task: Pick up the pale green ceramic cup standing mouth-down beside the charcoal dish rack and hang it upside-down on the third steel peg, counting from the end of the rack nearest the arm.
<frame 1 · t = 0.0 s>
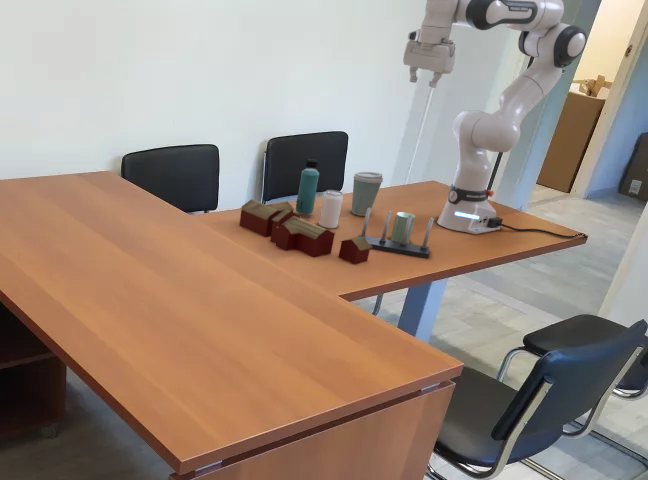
hand: (422, 84, 224), 48 cm above the table, tool pointing down, fingers open, 8 cm apart
beverage bottle: (303, 216, 258), on the table
toy houses: (301, 243, 232), on the table
can: (327, 226, 249), on the table
cup: (399, 240, 240), on the table
disposable coffee cup: (360, 213, 264), on the table
dish rack: (391, 248, 233), on the table
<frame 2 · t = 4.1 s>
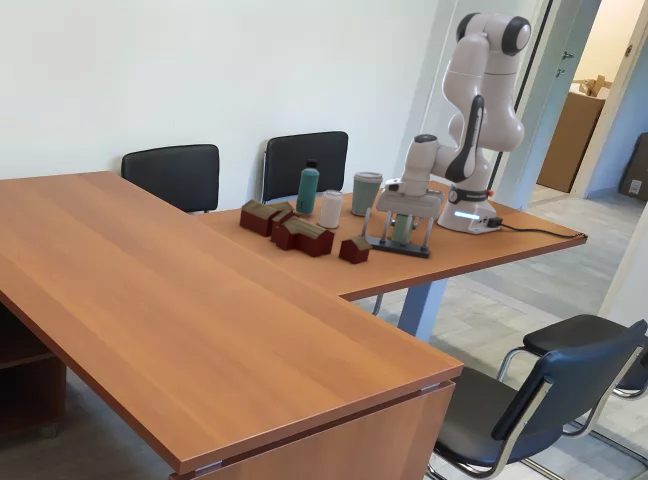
hand: (402, 227, 237), 5 cm above the table, tool pointing down, fingers closed on cup, 6 cm apart
cup: (399, 240, 240), on the table, touching gripper
everything else where it was.
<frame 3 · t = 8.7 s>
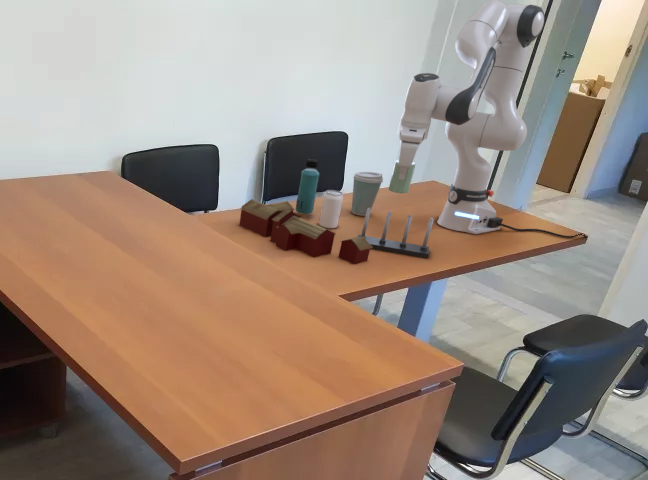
hand: (402, 176, 223), 23 cm above the table, tool pointing down, fingers closed on cup, 6 cm apart
cup: (398, 190, 226), point 18 cm above the table, touching gripper
everything else where it was.
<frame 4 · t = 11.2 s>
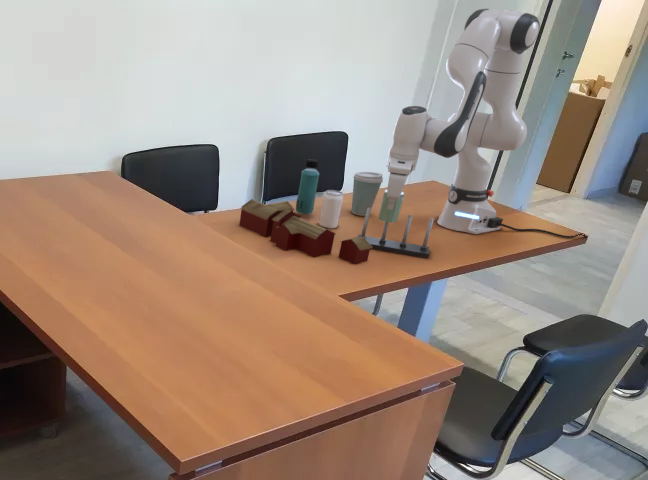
hand: (391, 205, 226), 14 cm above the table, tool pointing down, fingers closed on cup, 6 cm apart
cup: (387, 219, 229), point 9 cm above the table, touching gripper
everything else where it was.
when the fingers open (8 cm above the table, at t = 13.3 s): cup stays where it is, resting on dish rack.
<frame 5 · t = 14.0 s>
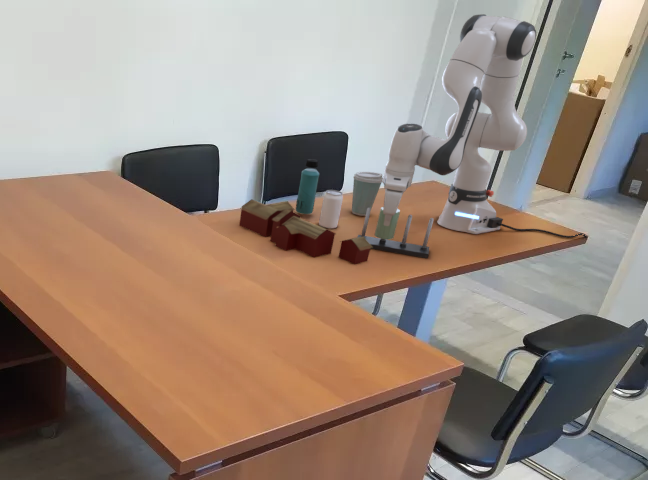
hand: (387, 221, 229), 9 cm above the table, tool pointing down, fingers open, 8 cm apart
cup: (384, 236, 232), point 4 cm above the table, touching dish rack
everything else where it was.
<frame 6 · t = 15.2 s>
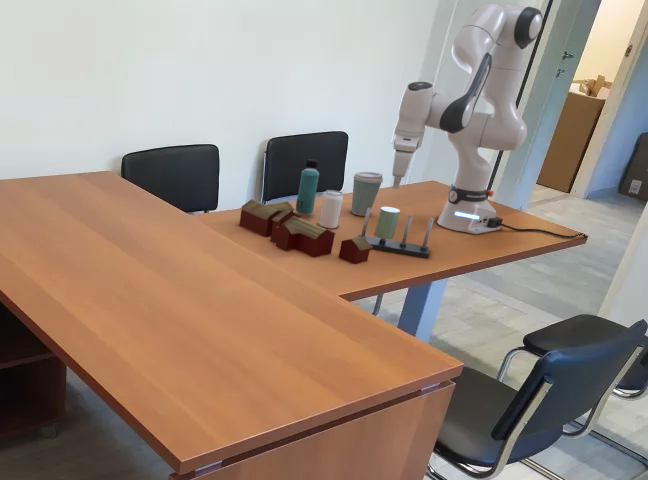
hand: (396, 184, 223), 21 cm above the table, tool pointing down, fingers open, 8 cm apart
nothing on the table moved.
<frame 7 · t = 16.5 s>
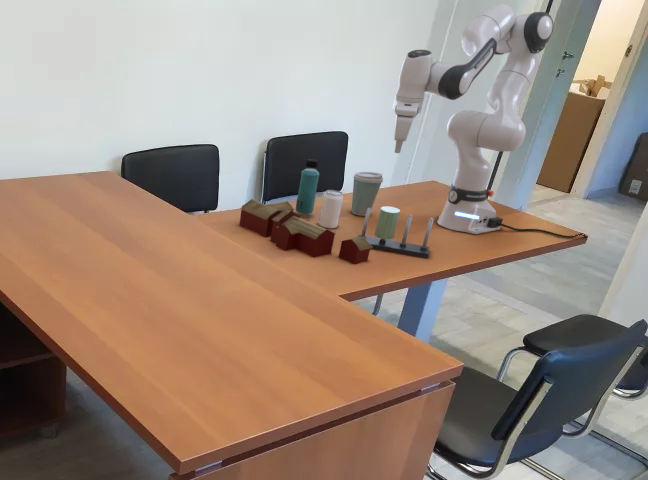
hand: (397, 149, 234), 28 cm above the table, tool pointing down, fingers open, 8 cm apart
nothing on the table moved.
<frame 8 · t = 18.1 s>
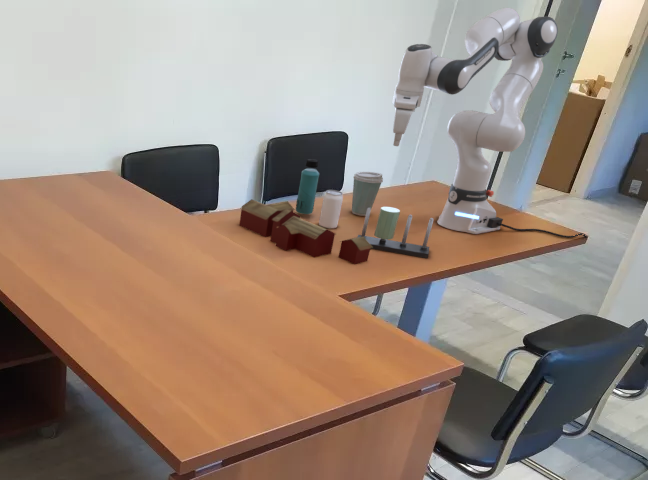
hand: (396, 143, 236), 29 cm above the table, tool pointing down, fingers open, 8 cm apart
nothing on the table moved.
at the end: cup 0.3 cm from the target spot on the dish rack, point 3.6 cm above the dish rack's base; cup tilted 2°; the gripper is holding nothing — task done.
